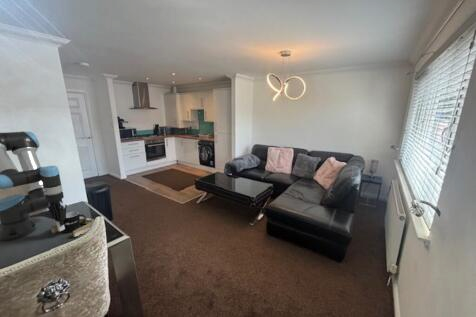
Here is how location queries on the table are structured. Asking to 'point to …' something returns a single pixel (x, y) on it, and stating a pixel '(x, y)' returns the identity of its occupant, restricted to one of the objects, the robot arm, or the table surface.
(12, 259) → the table surface
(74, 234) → the bay
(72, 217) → the mug
